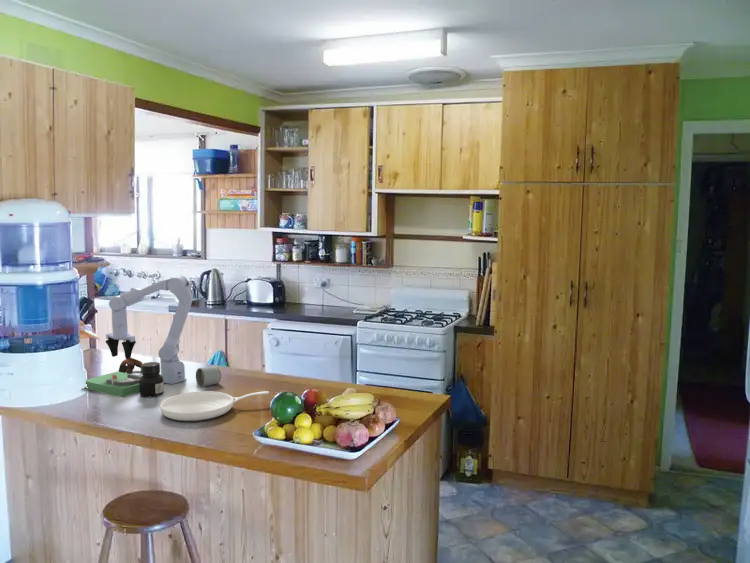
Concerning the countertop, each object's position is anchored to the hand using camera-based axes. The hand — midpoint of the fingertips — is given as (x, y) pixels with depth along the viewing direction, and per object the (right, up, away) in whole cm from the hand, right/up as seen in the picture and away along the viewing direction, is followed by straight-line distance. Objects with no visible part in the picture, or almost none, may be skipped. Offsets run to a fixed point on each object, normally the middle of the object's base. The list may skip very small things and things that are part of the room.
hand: (121, 357), depth 254 cm
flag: (+5, -12, -17) cm, 21 cm away
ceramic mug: (+36, -11, -3) cm, 38 cm away
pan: (+48, -15, -35) cm, 61 cm away
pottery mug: (-2, -9, +14) cm, 16 cm away
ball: (+7, -10, -10) cm, 16 cm away
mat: (+2, -11, -7) cm, 13 cm away
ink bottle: (+19, -13, -16) cm, 28 cm away
